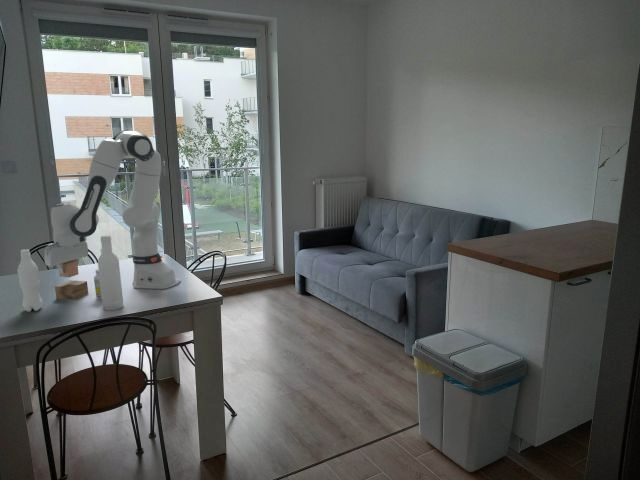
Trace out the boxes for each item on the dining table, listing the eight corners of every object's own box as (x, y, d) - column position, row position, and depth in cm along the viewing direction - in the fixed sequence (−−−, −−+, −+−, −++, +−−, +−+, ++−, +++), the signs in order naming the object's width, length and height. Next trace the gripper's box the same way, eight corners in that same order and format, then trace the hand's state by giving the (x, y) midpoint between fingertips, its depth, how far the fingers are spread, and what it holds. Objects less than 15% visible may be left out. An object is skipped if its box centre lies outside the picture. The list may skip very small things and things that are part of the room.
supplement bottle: (114, 294, 213) (111, 266, 210) (110, 299, 207) (107, 270, 204) (98, 295, 212) (95, 267, 209) (94, 300, 206) (91, 271, 203)
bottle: (127, 304, 200) (120, 234, 193) (115, 311, 192) (107, 238, 186) (111, 303, 201) (103, 233, 195) (98, 309, 194) (90, 237, 188)
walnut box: (88, 294, 215) (86, 281, 214) (74, 300, 206) (72, 287, 205) (71, 293, 217) (69, 280, 216) (56, 299, 208) (54, 286, 207)
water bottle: (21, 313, 191) (12, 252, 185) (24, 308, 197) (15, 249, 192) (42, 311, 193) (33, 251, 188) (44, 305, 200) (36, 247, 195)
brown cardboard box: (79, 274, 211) (77, 260, 210) (68, 277, 206) (67, 264, 205) (69, 273, 213) (67, 259, 212) (58, 276, 208) (57, 262, 206)
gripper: (50, 245, 195) (54, 278, 198) (89, 236, 214) (92, 266, 217) (38, 244, 197) (42, 276, 200) (78, 235, 216) (81, 264, 219)
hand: (68, 271), depth 209 cm, fingers closed on brown cardboard box, 5 cm apart
